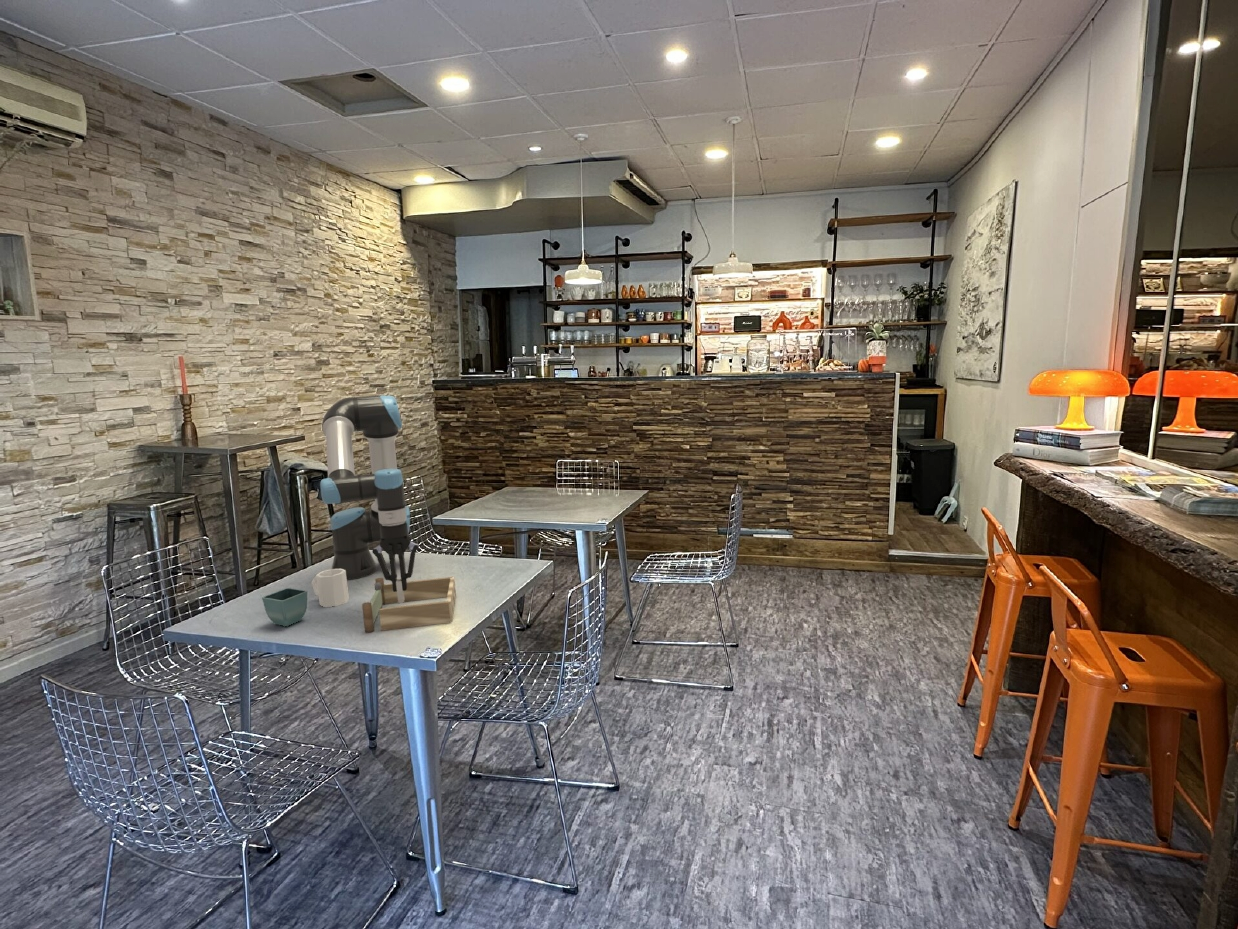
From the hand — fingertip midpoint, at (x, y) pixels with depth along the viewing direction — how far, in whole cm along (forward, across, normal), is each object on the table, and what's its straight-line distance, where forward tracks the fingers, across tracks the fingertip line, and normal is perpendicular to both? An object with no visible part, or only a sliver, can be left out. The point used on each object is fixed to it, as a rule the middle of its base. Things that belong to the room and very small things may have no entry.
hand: (401, 601), depth 190 cm
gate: (+4, -8, +3) cm, 9 cm away
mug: (+5, -25, +21) cm, 33 cm away
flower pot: (+5, -33, +6) cm, 34 cm away
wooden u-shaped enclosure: (+5, +3, +3) cm, 7 cm away
